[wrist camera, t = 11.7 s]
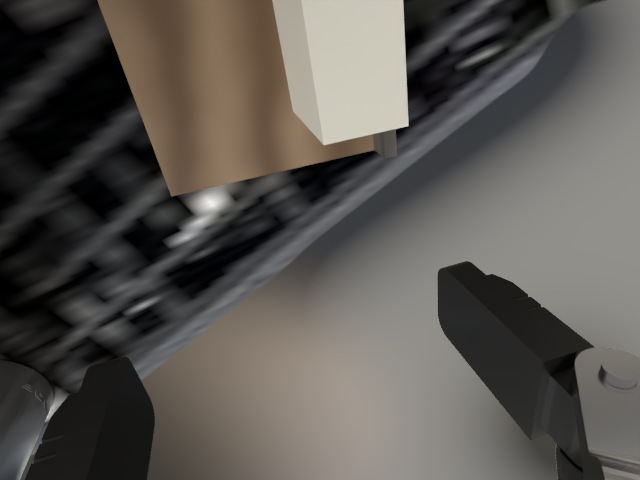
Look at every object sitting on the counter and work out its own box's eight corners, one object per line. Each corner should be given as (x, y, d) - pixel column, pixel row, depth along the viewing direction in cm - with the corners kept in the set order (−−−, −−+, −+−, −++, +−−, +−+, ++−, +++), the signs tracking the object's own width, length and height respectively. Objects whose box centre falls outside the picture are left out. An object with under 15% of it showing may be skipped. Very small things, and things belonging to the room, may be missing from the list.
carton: (293, 111, 30) (323, 145, 22) (263, -48, 25) (288, -85, 17) (357, 97, 31) (412, 125, 22) (341, -60, 26) (404, -102, 17)
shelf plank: (173, 189, 32) (168, 209, 29) (61, -110, 23) (34, -134, 19) (380, 142, 35) (398, 155, 31) (358, -148, 25) (380, -176, 22)
